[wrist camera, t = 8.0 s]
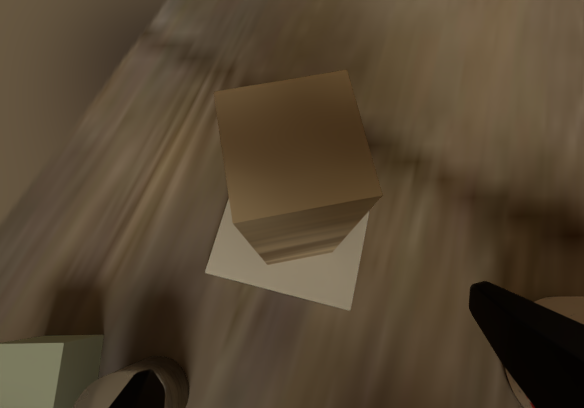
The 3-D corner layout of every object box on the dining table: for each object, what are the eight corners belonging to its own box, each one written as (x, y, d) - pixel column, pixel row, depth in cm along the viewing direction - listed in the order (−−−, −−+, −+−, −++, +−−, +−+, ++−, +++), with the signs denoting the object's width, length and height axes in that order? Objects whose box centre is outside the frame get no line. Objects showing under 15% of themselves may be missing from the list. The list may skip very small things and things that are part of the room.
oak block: (332, 252, 22) (382, 195, 10) (267, 264, 22) (232, 223, 9) (318, 191, 23) (346, 69, 11) (256, 202, 23) (213, 91, 11)
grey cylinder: (198, 365, 21) (170, 386, 16) (175, 441, 20) (137, 487, 15) (135, 348, 21) (90, 362, 17) (109, 421, 20) (52, 460, 15)
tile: (371, 189, 24) (374, 184, 23) (347, 310, 22) (350, 310, 21) (244, 159, 25) (242, 153, 24) (208, 273, 23) (204, 272, 22)
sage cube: (104, 334, 22) (64, 342, 18) (95, 401, 21) (50, 425, 17) (45, 335, 22) (-8, 343, 18) (33, 402, 21) (-27, 427, 17)
